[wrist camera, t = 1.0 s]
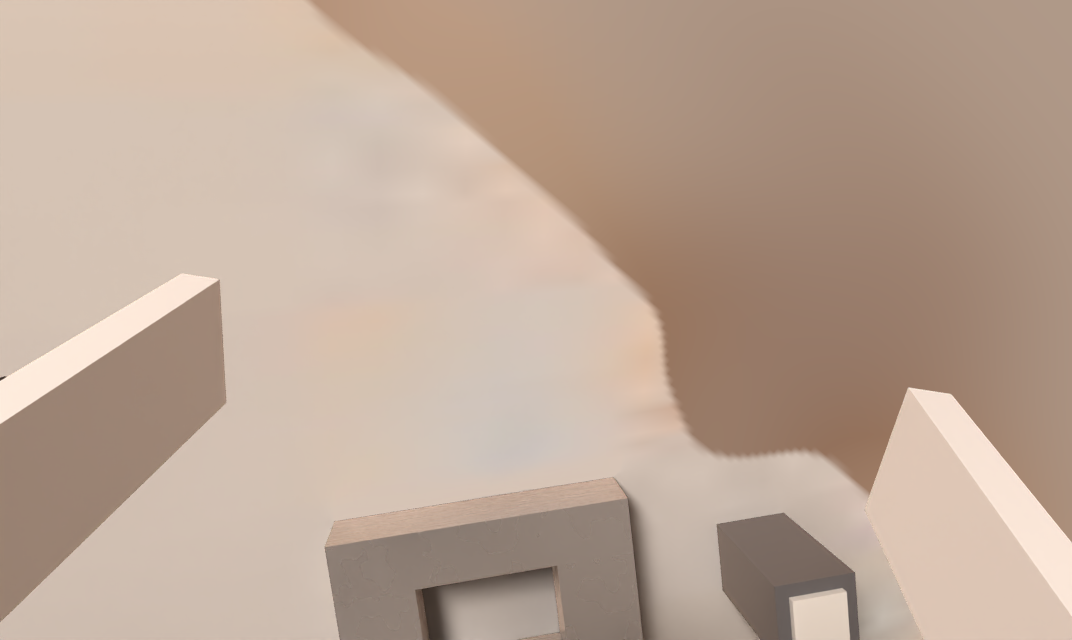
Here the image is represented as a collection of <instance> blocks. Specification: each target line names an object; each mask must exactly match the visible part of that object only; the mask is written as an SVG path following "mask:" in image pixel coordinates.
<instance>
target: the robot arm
mask: <svg viewBox="0 0 1072 640" xmlns="http://www.w3.org/2000/svg"><path fill="white" fill-rule="evenodd" d="M225 403H226V389H225V371H224V352H223V334H222V316H221V297H220V279H214V278H208V277H201V276H195V275H189V274H180V275H178V276H177V277H175V278H173V279H172V280H170V281H168V282H167V283H165V284H163V285H161V286H160V287H158V288H156V289H155V290H153V291H151V292H150V293H148V294H146V295H145V296H143V297H141V298H139V299H138V300H136V301H134V302H133V303H131V304H129V305H128V306H126V307H124V308H123V309H121V310H119V311H118V312H116V313H114V314H112V315H111V316H109V317H107V318H106V319H104V320H102V321H101V322H99V323H97V324H96V325H94V326H92V327H90V328H89V329H87V330H85V331H84V332H82V333H80V334H79V335H77V336H75V337H74V338H72V339H70V340H68V341H67V342H65V343H63V344H62V345H60V346H58V347H57V348H55V349H53V350H52V351H50V352H48V353H47V354H45V355H43V356H41V357H40V358H38V359H36V360H35V361H33V362H31V363H30V364H28V365H26V366H25V367H23V368H21V369H19V370H18V371H16V372H14V373H13V374H11V375H9V376H8V377H5V376H4V377H1V378H0V622H1V621H2V620H3V619H4V618H5V617H6V616H7V615H8V614H9V613H10V612H11V611H12V610H13V609H14V608H15V607H16V606H17V605H18V604H19V603H20V602H21V601H23V600H24V599H25V598H26V597H27V596H28V595H29V594H30V593H31V592H32V591H33V590H34V589H35V588H36V587H37V586H38V585H39V584H40V583H41V582H42V581H43V580H44V579H45V578H46V577H47V576H48V575H49V574H50V573H51V572H52V571H53V570H54V569H55V568H56V567H58V566H59V565H60V564H61V563H62V562H63V561H64V560H65V559H66V558H67V557H68V556H69V555H70V554H71V553H72V552H73V551H74V550H75V549H76V548H77V547H78V546H79V545H80V544H81V543H82V542H83V541H84V540H85V539H86V538H87V537H88V536H89V535H90V534H91V533H93V532H94V531H95V530H96V529H97V528H98V527H99V526H100V525H101V524H102V523H103V522H104V521H105V520H106V519H107V518H108V517H109V516H110V515H111V514H112V513H113V512H114V511H115V510H116V509H117V508H118V507H119V506H120V505H121V504H122V503H123V502H124V501H125V500H126V499H128V498H129V497H130V496H131V495H132V494H133V493H134V492H135V491H136V490H137V489H138V488H139V487H140V486H141V485H142V484H143V483H144V482H145V481H146V480H147V479H148V478H149V477H150V476H151V475H152V474H153V473H154V472H155V471H156V470H157V469H158V468H159V467H160V466H161V465H162V464H164V463H165V462H166V461H167V460H168V459H169V458H170V457H171V456H172V455H173V454H174V453H175V452H176V451H177V450H178V449H179V448H180V447H181V446H182V445H183V444H184V443H185V442H186V441H187V440H188V439H189V438H190V437H191V436H192V435H193V434H194V433H195V432H196V431H197V430H199V429H200V428H201V427H202V426H203V425H204V424H205V423H206V422H207V421H208V420H209V419H210V418H211V417H212V416H213V415H214V414H215V413H216V412H217V411H218V410H219V409H220V408H221V407H222V406H223V405H224V404H225ZM865 512H866V514H867V516H868V518H869V521H870V523H871V525H872V527H873V529H874V532H875V534H876V536H877V538H878V540H879V543H880V545H881V547H882V549H883V551H884V554H885V556H886V558H887V560H888V562H889V565H890V567H891V569H892V571H893V573H894V576H895V578H896V580H897V582H898V584H899V587H900V589H901V591H902V593H903V595H904V598H905V600H906V602H907V604H908V606H909V609H910V611H911V613H912V615H913V617H914V620H915V622H916V624H917V626H918V628H919V631H920V633H921V635H922V637H923V639H924V640H1072V543H1071V541H1070V540H1069V539H1068V538H1067V537H1066V535H1065V534H1064V533H1063V531H1062V530H1061V529H1060V528H1059V527H1058V525H1057V524H1056V523H1055V522H1054V520H1052V518H1051V517H1050V515H1049V514H1048V513H1047V512H1046V511H1045V509H1044V508H1043V507H1042V506H1041V504H1040V503H1039V502H1038V501H1037V499H1036V498H1035V497H1034V496H1033V494H1032V493H1031V492H1030V491H1029V490H1028V488H1027V487H1026V486H1025V485H1024V484H1023V482H1022V481H1021V480H1020V478H1019V477H1018V476H1017V475H1016V474H1015V472H1014V471H1013V470H1012V469H1011V467H1010V466H1009V465H1008V464H1007V462H1006V461H1005V460H1004V459H1003V458H1002V457H1001V455H1000V454H999V453H998V452H997V450H996V449H995V448H994V446H993V445H992V444H991V443H990V441H989V440H988V439H987V438H986V437H985V435H984V434H983V433H982V432H981V430H980V429H979V428H978V427H977V425H976V424H975V423H974V422H973V421H972V419H971V418H970V417H969V416H968V414H966V412H965V411H964V409H963V408H962V407H961V406H960V405H959V404H958V402H957V401H956V400H955V398H954V397H953V396H952V395H951V394H947V393H939V392H934V391H927V390H921V389H914V388H908V390H907V392H906V395H905V398H904V401H903V404H902V407H901V409H900V412H899V415H898V418H897V421H896V423H895V426H894V429H893V432H892V434H891V437H890V440H889V443H888V446H887V448H886V452H885V454H884V457H883V460H882V463H881V465H880V468H879V471H878V474H877V477H876V479H875V482H874V485H873V488H872V491H871V493H870V496H869V499H868V502H867V505H866V507H865Z"/></svg>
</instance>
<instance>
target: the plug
mask: <svg viewBox="0 0 1072 640" xmlns="http://www.w3.org/2000/svg"><path fill="white" fill-rule="evenodd" d="M717 533H718V544H719V555H720V565H721V576H722V587H723V591H724V592H725V594H726V595H727V596H728V598H729V599H730V600H731V601H732V603H733V604H734V605H735V607H736V608H737V609H738V611H739V612H740V613H741V614H742V616H743V617H744V618H745V620H746V621H747V622H748V624H749V625H750V626H751V627H752V629H753V630H754V631H755V633H756V634H757V635H758V637H759V638H760V639H761V640H859V626H858V611H857V597H856V582H855V572H854V571H853V570H851V569H850V568H849V567H848V566H847V565H845V564H844V563H843V562H842V561H841V560H839V559H838V558H837V557H836V556H835V555H833V554H832V553H831V552H830V551H829V550H827V549H826V548H825V547H824V546H823V545H821V544H820V543H819V542H818V541H817V540H815V539H814V538H813V537H812V536H811V535H809V534H808V533H807V532H806V531H805V530H804V529H802V528H801V527H800V526H799V525H798V524H796V523H795V522H794V521H793V520H792V519H790V518H789V517H788V516H787V515H786V514H784V513H780V514H774V515H768V516H762V517H756V518H751V519H745V520H739V521H733V522H727V523H721V524H717Z"/></svg>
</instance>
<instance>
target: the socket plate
mask: <svg viewBox="0 0 1072 640" xmlns="http://www.w3.org/2000/svg"><path fill="white" fill-rule="evenodd" d="M325 552H326V559H327V565H328V571H329V577H330V583H331V589H332V595H333V601H334V607H335V613H336V619H337V625H338V631H339V637H340V640H429V634H428V628H427V621H426V614H425V607H424V601H423V594H422V589H423V588H429V587H435V586H441V585H447V584H453V583H459V582H465V581H471V580H476V579H482V578H488V577H494V576H500V575H506V574H512V573H518V572H524V571H530V570H536V569H541V568H547V567H552V571H553V579H554V587H555V595H556V603H557V611H558V619H559V627H560V632H558V633H552V634H547V635H541V636H536V637H530V638H524V639H519V640H643V634H642V625H641V616H640V607H639V598H638V588H637V579H636V570H635V561H634V552H633V542H632V533H631V524H630V515H629V506H628V498H627V497H626V495H625V494H624V492H623V491H622V489H621V488H620V486H619V485H618V483H617V482H616V480H615V479H614V477H611V478H605V479H599V480H592V481H586V482H580V483H573V484H567V485H561V486H554V487H548V488H542V489H535V490H529V491H523V492H516V493H510V494H504V495H498V496H491V497H485V498H479V499H472V500H466V501H460V502H453V503H447V504H441V505H434V506H428V507H422V508H415V509H409V510H403V511H397V512H390V513H384V514H378V515H371V516H365V517H359V518H352V519H346V520H340V521H335V522H334V524H333V527H332V529H331V532H330V535H329V537H328V540H327V542H326V545H325Z"/></svg>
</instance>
